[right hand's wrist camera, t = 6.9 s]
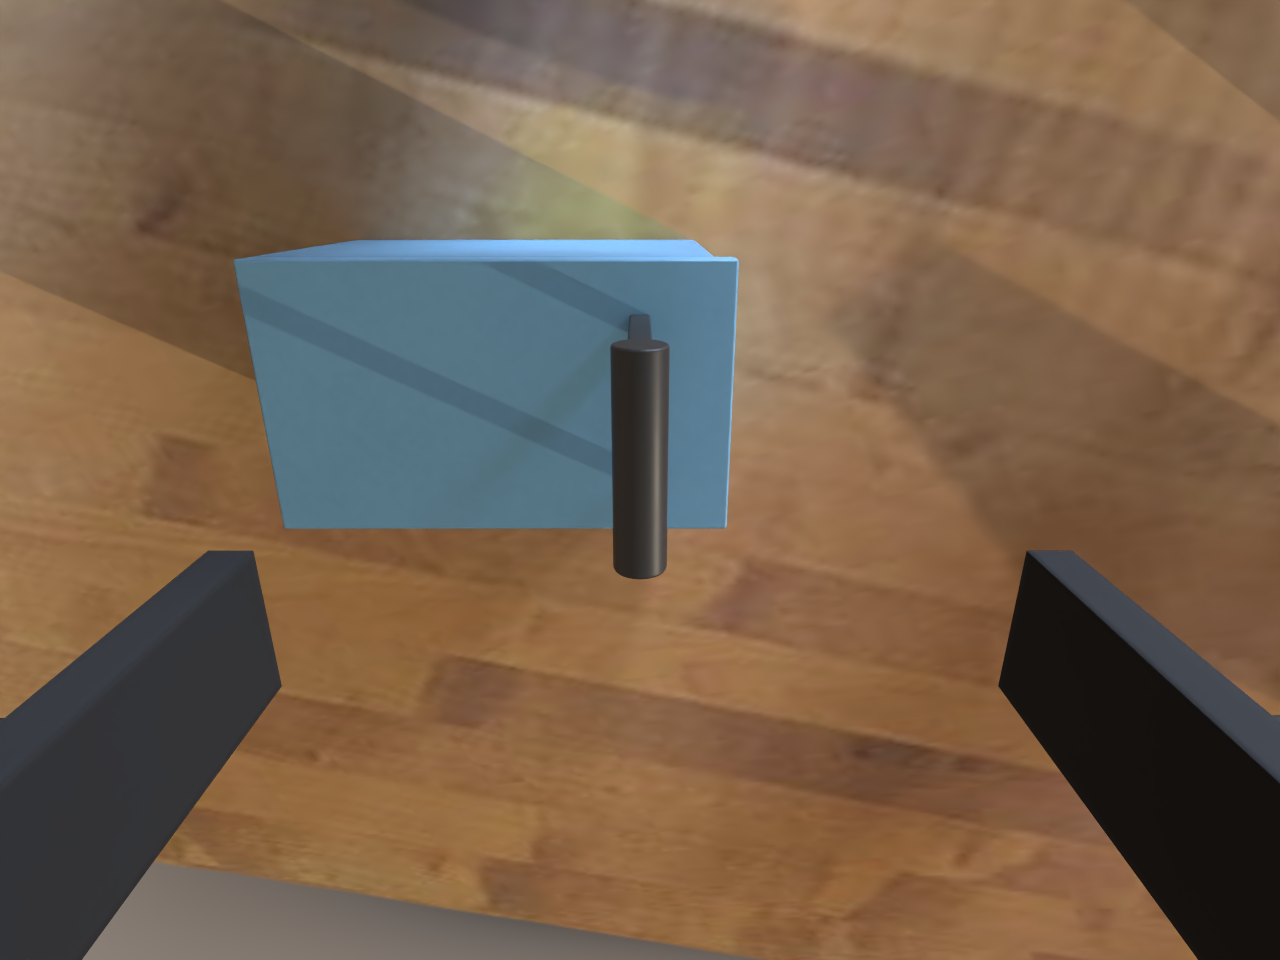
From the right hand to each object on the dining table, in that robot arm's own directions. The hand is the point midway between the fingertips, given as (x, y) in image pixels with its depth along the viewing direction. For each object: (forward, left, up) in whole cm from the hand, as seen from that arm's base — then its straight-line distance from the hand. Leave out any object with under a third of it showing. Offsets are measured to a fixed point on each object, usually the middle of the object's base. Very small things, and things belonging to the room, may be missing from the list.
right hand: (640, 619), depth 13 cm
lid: (+3, -4, -15) cm, 16 cm away
